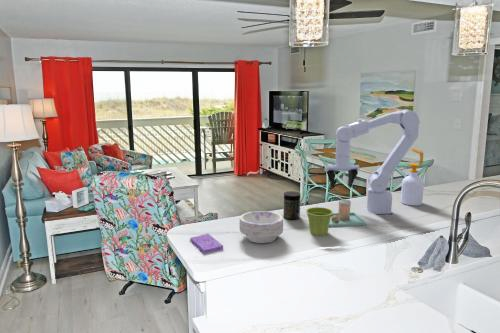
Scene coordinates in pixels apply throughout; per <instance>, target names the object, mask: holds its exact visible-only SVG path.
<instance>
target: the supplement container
mask: <svg viewBox="0 0 500 333" xmlns="http://www.w3.org/2000/svg"><path fill="white" fill-rule="evenodd" d="M301 194H302V193H300V192H298V191H293V190H292V191H286V192H283V205H282V206H283V210H282V211H283V213H282V214H283V215H282V217H283V219H285V220H288V221H297V220H299V219H300V218H301V196H302V195H301Z"/></svg>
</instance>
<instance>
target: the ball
mask: <svg viewBox="0 0 500 333" xmlns="http://www.w3.org/2000/svg"><path fill="white" fill-rule="evenodd" d="M331 220H332V222H333V223H339V221H340V218H339V216H337V215H334V216H332V218H331Z"/></svg>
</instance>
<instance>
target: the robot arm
mask: <svg viewBox="0 0 500 333" xmlns="http://www.w3.org/2000/svg"><path fill="white" fill-rule="evenodd" d="M420 123H421V120H420V118H419V115H418V114H417V112H416V111H415V110H410V109H407V108H404V109H401V110H396V111H392V112H389V113H386V114H384V115H381V116H378V117H376V118H374V119H371V120H367V119H361V118H358V119H357V121H356V122H353V123H350V124H349V123H346V124H345V125H346V126H344V125H343V126H340V127H338V128H337V129H336V132H335V136H336V142H335V143H336V144H335V158H334V159H335V160H334V161H335V163H334V164H333V165H324V172H326V174H327V177H328V180H329V183H330V188H331V189H335V178H336V173H335V172H340V171H342V172H343V171H344V172H345V171H347V174H348V182H347V186H348V187H349V188H353V184H354V181H355V179H356V177H357V176H358V174H359V171H360V167H361V166H360V165H359V164H350V157H351V156H350V155H351V144H350V143H351V139H352V138H353V139H354V138H357V137H360V136H363V135H365V134H368V133H369V132H371V131H370V130H371V129H373V128H377V127H378V128H379V127H381V126H385V125H388V124H397V125H400V127H401V131H402V136H401V138H400V139H399V140H398V141H397V143H396V145H395V146H394V147H393V149H392V150H391V152H390V153H389V154H388V156H387V157H386V159H385V160H384V161H383V163H382V165H381V166H380V167H378V168H377V169H376V170H375V171H374V172H373V173H371V174H370V175H369V176H368V178H367V182H368V184H369V187H368V188H367V196H366V197H367V198H366V199H367V200H366V207H365V206H364V207H362V208H363V209H364V210H365V211H367V212H368V213H369V214H375V215H383V214H385V215H387V214H393V211H392V207H393V205H392V204H393V195H392V192H391V190H387V187H388V183H389V182H390V180H391V176H392V174H393V172H394V171H395V170H396V168H397V167H398V165H399V164H400V163H401V161H402V160H403V158H404V157H405V156H406V154H407V153H408V151H409V150H411V147H412V146H413V145H414V143H415V142H416V141H417V139H418V137H419V125H420Z"/></svg>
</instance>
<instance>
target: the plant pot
mask: <svg viewBox="0 0 500 333" xmlns="http://www.w3.org/2000/svg"><path fill="white" fill-rule="evenodd" d="M305 213H306V214H307V218H308V226H309V233H310V234H311V235H312V236H316V237H323V236H327V235H328V233H329V223H330V218H331V215H332V214H333V213H334V211H333V210H332V209H330V208H327V207H322V206H321V207H319V206H315V207H309V208H307V209H306V210H305Z"/></svg>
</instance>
